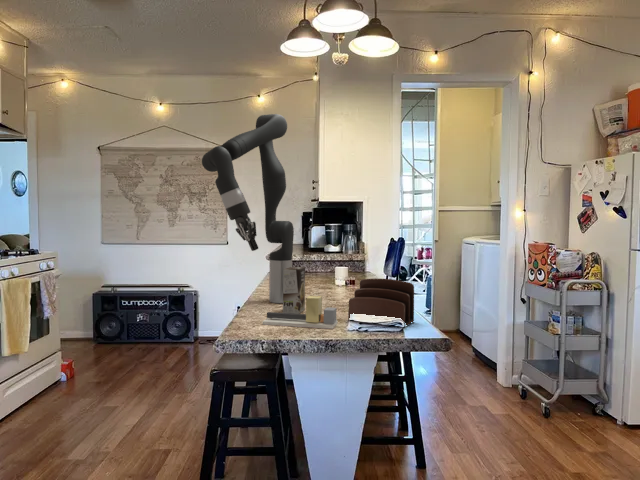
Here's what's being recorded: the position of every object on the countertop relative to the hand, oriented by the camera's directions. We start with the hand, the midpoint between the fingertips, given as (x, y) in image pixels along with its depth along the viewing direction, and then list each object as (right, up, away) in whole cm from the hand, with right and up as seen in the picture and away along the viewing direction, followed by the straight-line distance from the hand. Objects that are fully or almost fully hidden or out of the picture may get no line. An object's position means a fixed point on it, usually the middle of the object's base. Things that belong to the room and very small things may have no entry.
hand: (255, 249), depth 158 cm
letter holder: (+43, -24, -6) cm, 50 cm away
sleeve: (+21, -22, -12) cm, 33 cm away
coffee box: (+13, -23, +9) cm, 28 cm away
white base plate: (+16, -24, -11) cm, 31 cm away
